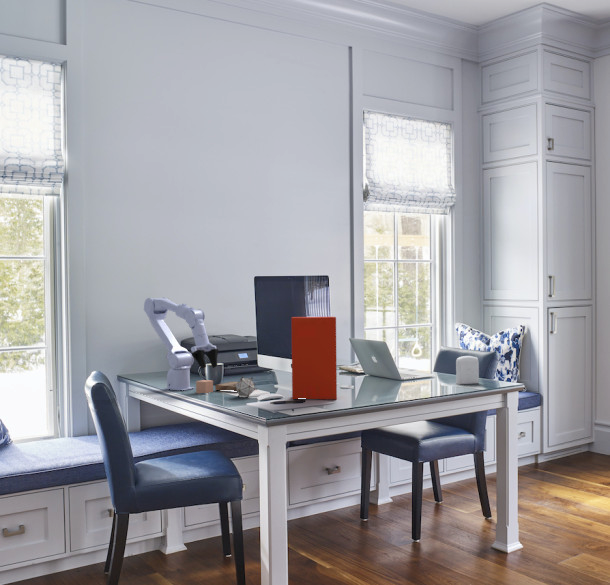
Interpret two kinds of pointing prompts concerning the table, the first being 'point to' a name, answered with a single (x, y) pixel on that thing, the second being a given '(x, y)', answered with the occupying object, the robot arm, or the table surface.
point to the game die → (245, 387)
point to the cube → (204, 386)
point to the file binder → (314, 358)
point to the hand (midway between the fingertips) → (209, 367)
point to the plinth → (227, 386)
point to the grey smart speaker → (467, 370)
